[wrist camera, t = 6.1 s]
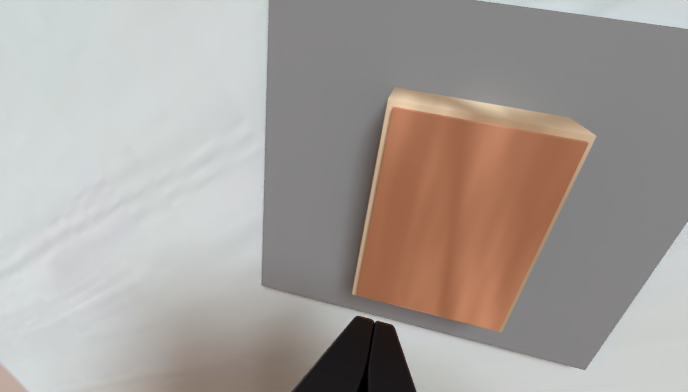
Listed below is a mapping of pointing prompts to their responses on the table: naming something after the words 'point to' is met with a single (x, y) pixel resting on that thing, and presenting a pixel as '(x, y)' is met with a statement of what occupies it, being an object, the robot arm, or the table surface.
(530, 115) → the maple tile
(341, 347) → the robot arm
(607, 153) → the slate mat
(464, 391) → the table surface
